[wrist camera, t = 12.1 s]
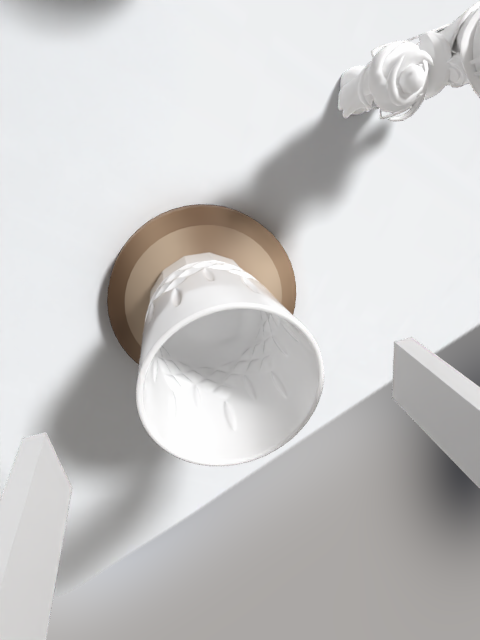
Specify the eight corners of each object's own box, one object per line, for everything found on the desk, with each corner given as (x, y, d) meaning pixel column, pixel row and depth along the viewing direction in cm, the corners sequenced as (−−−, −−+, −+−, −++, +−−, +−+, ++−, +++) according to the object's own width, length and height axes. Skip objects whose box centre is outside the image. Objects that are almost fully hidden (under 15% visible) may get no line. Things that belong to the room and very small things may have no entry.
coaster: (136, 392, 29) (136, 403, 27) (83, 224, 23) (80, 229, 22) (297, 354, 30) (303, 362, 29) (281, 188, 25) (287, 190, 24)
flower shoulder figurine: (437, 16, 23) (695, -93, 12) (443, 91, 25) (673, 55, 14) (291, 70, 22) (424, 7, 12) (307, 143, 24) (437, 146, 13)
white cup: (277, 332, 28) (340, 425, 19) (169, 375, 27) (180, 491, 18) (242, 222, 24) (299, 272, 15) (117, 270, 24) (99, 351, 15)
